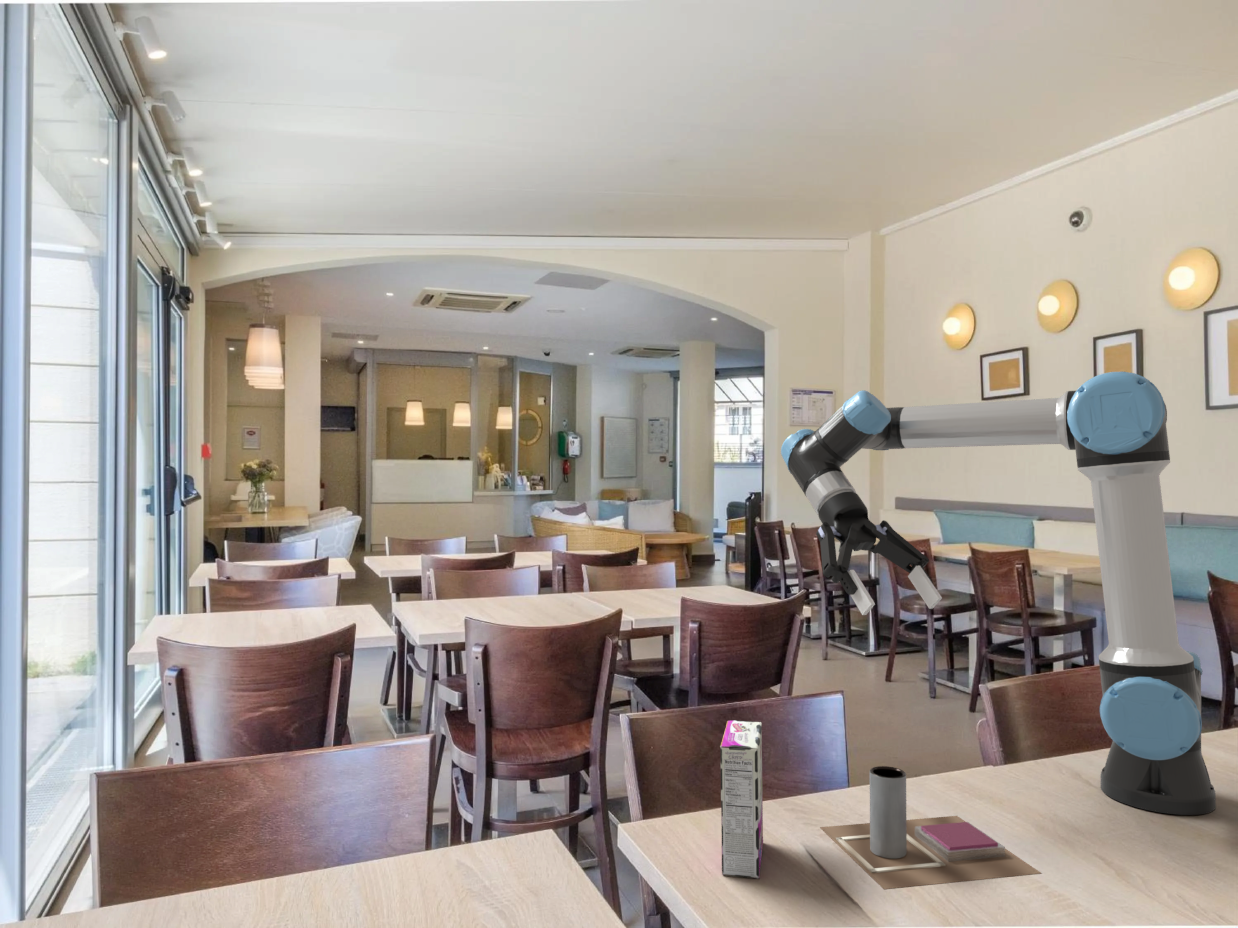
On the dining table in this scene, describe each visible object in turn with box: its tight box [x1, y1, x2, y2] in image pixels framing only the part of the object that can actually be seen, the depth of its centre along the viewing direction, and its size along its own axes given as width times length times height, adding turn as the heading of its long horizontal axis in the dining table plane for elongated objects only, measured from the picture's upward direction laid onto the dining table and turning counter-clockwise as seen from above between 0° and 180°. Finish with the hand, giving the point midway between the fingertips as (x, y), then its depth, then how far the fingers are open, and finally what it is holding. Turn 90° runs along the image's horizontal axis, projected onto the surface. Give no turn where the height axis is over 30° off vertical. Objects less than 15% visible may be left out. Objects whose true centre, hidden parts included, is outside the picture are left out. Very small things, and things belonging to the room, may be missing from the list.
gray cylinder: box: [869, 765, 907, 859], centre depth 112 cm, size 4×4×10 cm
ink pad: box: [915, 821, 1006, 862], centre depth 114 cm, size 8×8×2 cm
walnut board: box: [819, 815, 1043, 890], centre depth 113 cm, size 21×18×1 cm
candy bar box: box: [719, 720, 764, 879], centre depth 112 cm, size 11×5×16 cm, turn 168°
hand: (903, 606), depth 132 cm, fingers open, 13 cm apart
